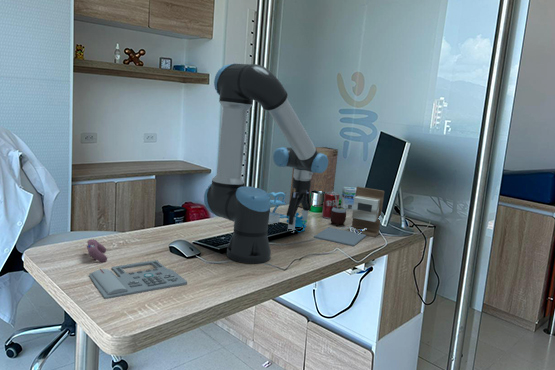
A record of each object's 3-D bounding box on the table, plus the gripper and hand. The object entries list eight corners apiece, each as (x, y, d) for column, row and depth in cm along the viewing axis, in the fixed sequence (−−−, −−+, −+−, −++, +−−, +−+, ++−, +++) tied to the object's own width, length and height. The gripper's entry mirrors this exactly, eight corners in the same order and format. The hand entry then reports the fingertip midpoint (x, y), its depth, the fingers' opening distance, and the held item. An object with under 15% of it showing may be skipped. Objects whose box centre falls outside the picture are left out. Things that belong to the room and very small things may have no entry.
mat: (353, 246, 186) (353, 245, 186) (313, 237, 193) (313, 236, 193) (366, 236, 202) (366, 234, 202) (328, 228, 209) (328, 227, 209)
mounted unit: (374, 237, 201) (380, 193, 198) (347, 231, 206) (352, 188, 203) (379, 233, 208) (384, 190, 205) (353, 228, 213) (358, 186, 210)
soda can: (319, 215, 231) (322, 191, 229) (333, 215, 233) (335, 191, 231) (325, 219, 224) (328, 194, 222) (339, 219, 226) (342, 195, 224)
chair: (276, 213, 228) (278, 189, 226) (286, 217, 221) (288, 192, 219) (263, 214, 223) (265, 189, 221) (273, 218, 217) (275, 193, 214)
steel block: (274, 224, 207) (275, 216, 207) (264, 222, 209) (265, 214, 209) (279, 222, 212) (280, 213, 211) (269, 220, 214) (270, 211, 213)
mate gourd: (344, 227, 212) (348, 195, 210) (327, 225, 214) (330, 193, 211) (345, 223, 220) (348, 192, 217) (328, 221, 221) (331, 190, 218)
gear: (291, 230, 195) (285, 209, 200) (283, 237, 198) (277, 216, 203) (311, 231, 201) (304, 211, 206) (303, 238, 205) (297, 218, 210)
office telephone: (105, 292, 122) (83, 266, 137) (105, 302, 122) (83, 275, 138) (188, 277, 135) (160, 255, 151) (187, 286, 136) (159, 263, 152)
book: (302, 208, 242) (307, 150, 237) (288, 204, 249) (294, 147, 243) (332, 203, 261) (338, 149, 255) (319, 199, 267) (324, 147, 261)
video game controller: (93, 257, 155) (83, 239, 152) (107, 250, 156) (97, 232, 154) (94, 268, 146) (83, 249, 143) (108, 261, 147) (98, 242, 145)
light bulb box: (342, 209, 250) (345, 188, 248) (340, 206, 256) (342, 186, 254) (362, 210, 251) (365, 190, 249) (359, 207, 257) (361, 187, 255)
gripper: (298, 184, 184) (293, 236, 188) (321, 177, 207) (316, 223, 211) (281, 181, 188) (276, 232, 192) (305, 174, 210) (300, 220, 214)
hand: (297, 228), depth 201 cm, fingers open, 13 cm apart
